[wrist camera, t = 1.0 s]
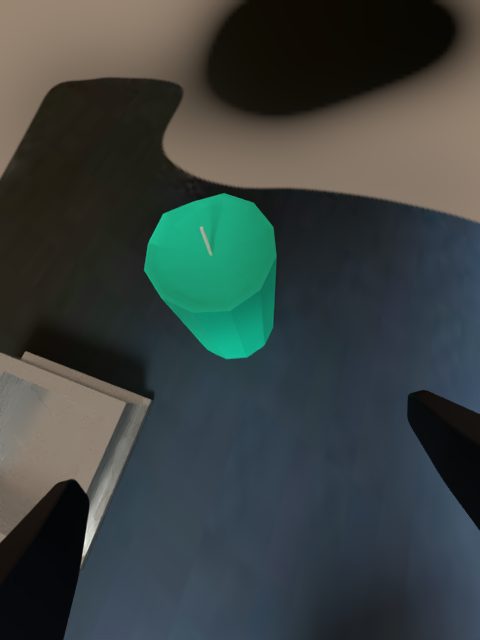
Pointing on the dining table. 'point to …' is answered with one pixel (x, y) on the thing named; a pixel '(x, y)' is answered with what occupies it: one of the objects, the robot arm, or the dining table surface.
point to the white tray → (62, 437)
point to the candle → (217, 272)
